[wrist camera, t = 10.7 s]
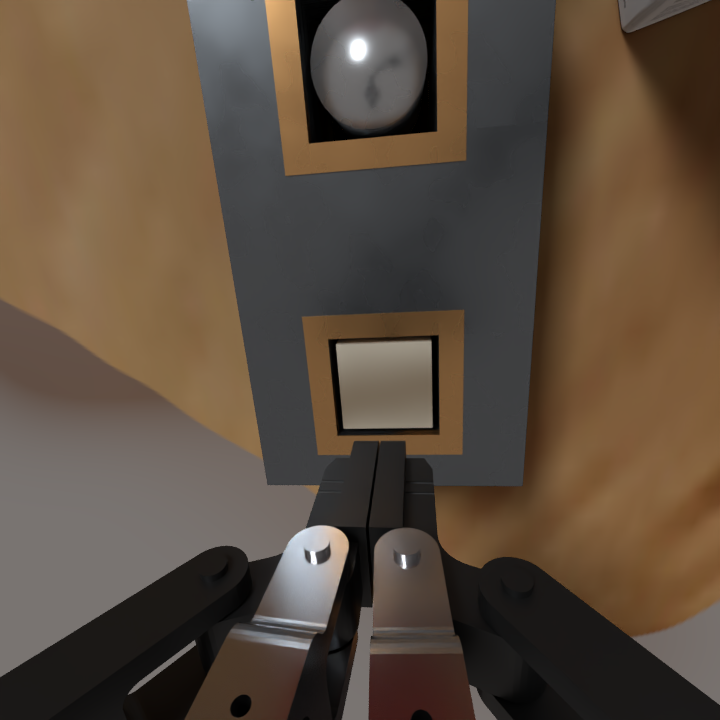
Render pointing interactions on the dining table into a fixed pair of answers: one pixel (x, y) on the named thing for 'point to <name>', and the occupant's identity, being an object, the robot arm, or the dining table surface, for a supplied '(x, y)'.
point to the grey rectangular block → (385, 382)
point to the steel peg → (370, 67)
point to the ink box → (651, 11)
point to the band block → (383, 228)
